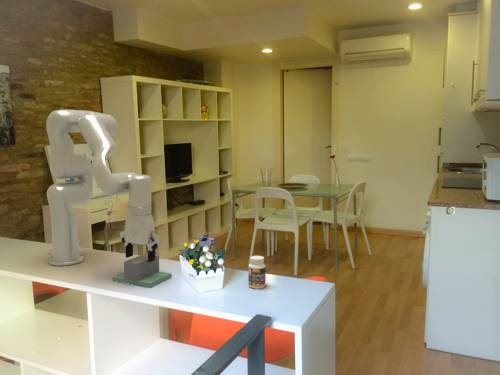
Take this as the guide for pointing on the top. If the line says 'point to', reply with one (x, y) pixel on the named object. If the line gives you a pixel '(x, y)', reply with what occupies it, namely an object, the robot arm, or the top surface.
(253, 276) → the pill bottle
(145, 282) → the board
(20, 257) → the top surface
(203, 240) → the ink cartridge box
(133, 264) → the block
